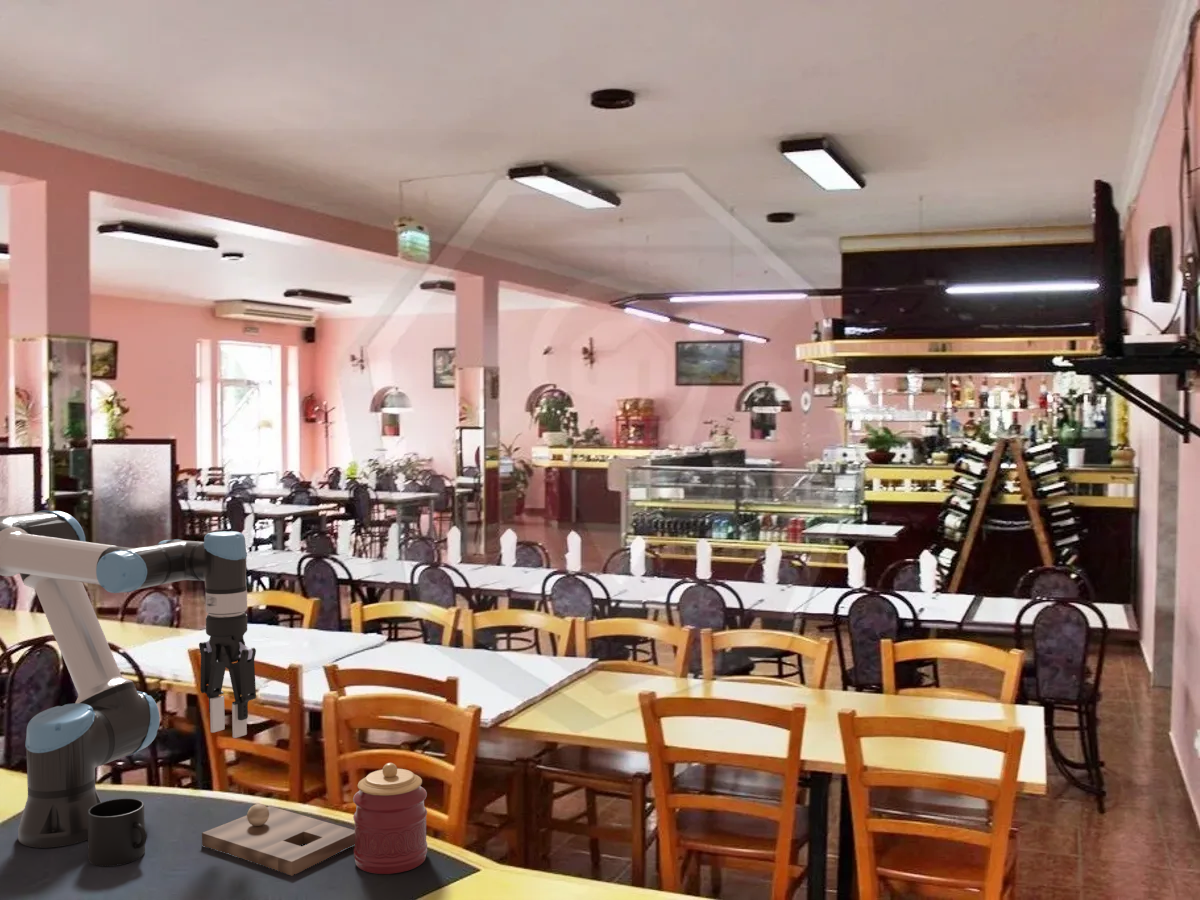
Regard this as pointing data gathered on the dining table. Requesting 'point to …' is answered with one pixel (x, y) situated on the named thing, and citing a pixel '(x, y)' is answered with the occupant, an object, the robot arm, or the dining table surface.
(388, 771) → the canister
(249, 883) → the dining table surface
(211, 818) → the dining table surface
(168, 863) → the dining table surface
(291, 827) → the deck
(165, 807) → the dining table surface
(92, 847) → the mug
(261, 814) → the ball
